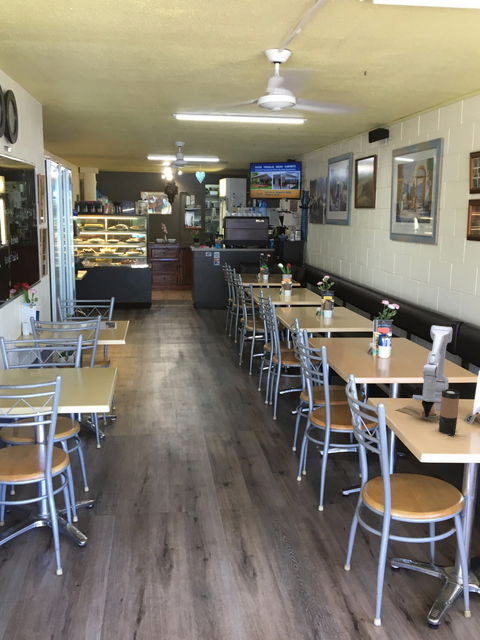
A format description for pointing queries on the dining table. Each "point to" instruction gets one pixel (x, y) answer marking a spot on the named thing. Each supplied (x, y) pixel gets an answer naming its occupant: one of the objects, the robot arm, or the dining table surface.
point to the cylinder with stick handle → (432, 411)
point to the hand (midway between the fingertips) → (426, 416)
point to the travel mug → (448, 411)
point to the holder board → (418, 413)
